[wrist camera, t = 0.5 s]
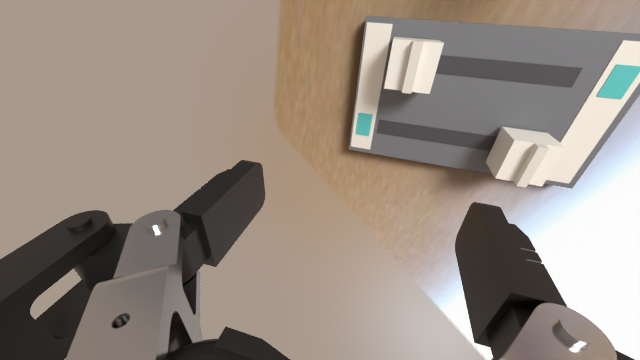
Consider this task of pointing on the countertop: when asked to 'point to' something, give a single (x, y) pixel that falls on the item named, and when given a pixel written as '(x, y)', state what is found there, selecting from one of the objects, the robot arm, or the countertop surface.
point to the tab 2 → (524, 156)
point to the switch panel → (496, 92)
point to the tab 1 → (413, 64)
